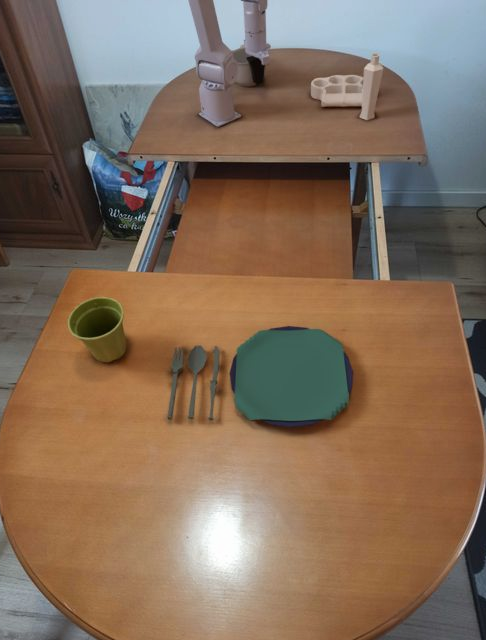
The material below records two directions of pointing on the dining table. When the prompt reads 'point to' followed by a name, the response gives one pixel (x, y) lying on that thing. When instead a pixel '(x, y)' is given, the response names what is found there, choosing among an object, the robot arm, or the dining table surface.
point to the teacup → (243, 67)
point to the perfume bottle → (371, 86)
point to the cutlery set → (279, 376)
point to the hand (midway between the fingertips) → (257, 82)
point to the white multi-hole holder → (338, 90)
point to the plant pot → (99, 327)
